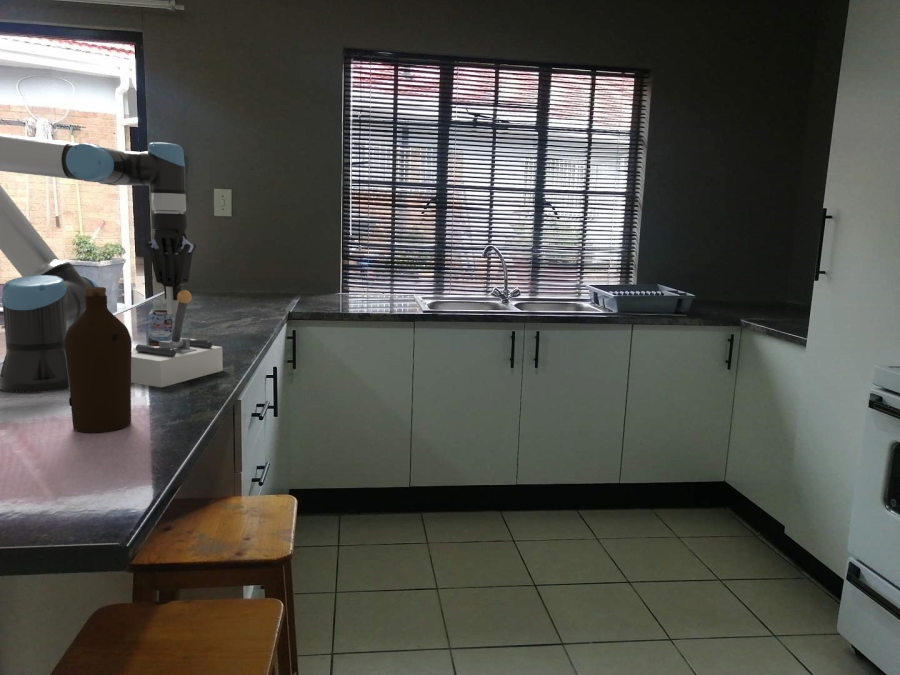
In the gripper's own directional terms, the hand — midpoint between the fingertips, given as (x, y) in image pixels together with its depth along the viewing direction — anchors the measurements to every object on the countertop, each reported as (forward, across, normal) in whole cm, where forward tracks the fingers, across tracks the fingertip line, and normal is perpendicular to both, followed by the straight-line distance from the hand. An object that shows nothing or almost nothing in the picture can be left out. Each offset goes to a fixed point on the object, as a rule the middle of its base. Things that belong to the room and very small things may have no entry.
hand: (173, 313), depth 161 cm
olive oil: (+15, -18, +37) cm, 44 cm away
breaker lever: (+7, 0, 0) cm, 7 cm away
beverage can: (+15, +24, -19) cm, 34 cm away
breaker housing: (+15, 0, 0) cm, 15 cm away
